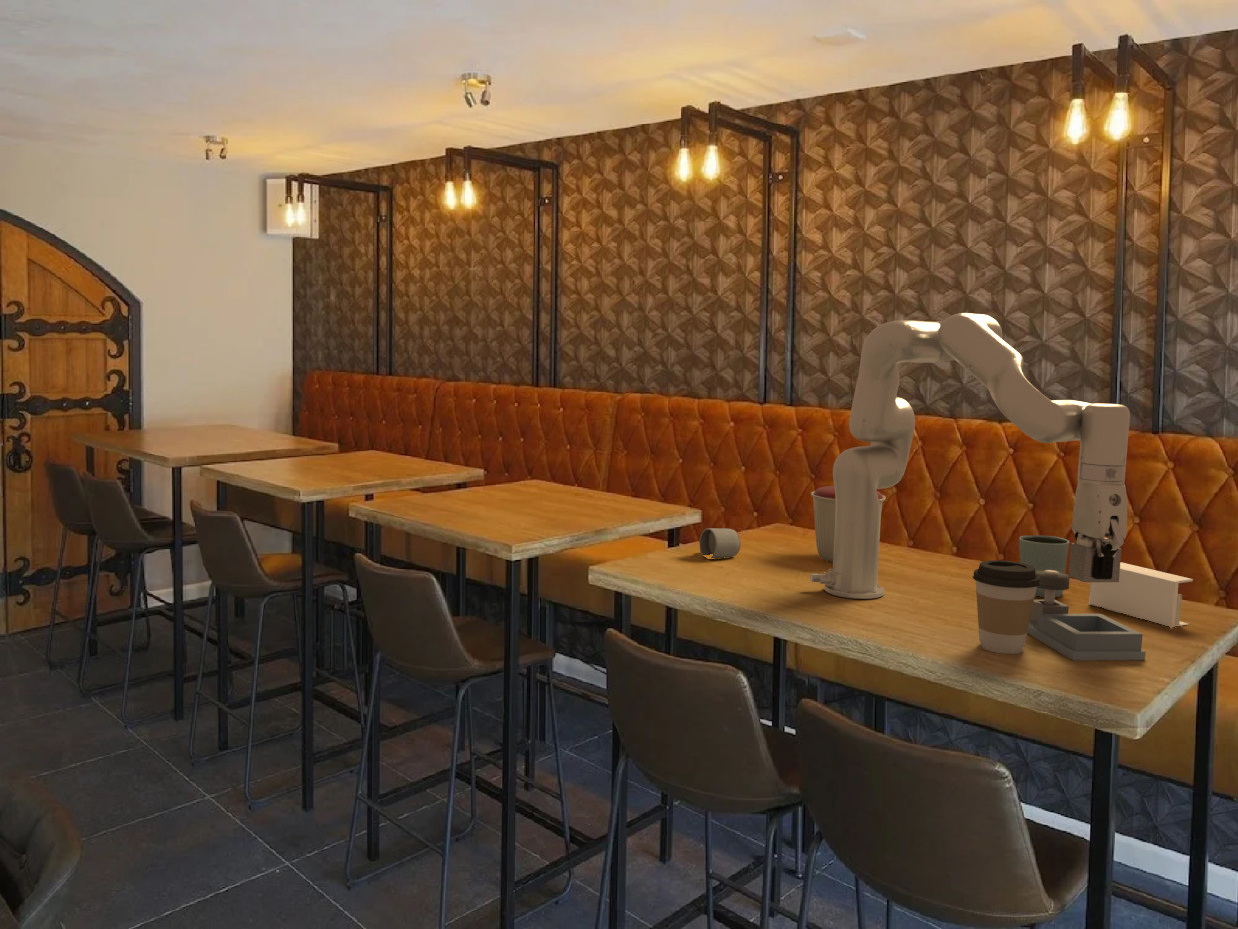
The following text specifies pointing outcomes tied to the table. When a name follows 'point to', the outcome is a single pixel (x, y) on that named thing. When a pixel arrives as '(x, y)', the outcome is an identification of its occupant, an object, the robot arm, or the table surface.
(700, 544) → the ceramic mug
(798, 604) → the table surface
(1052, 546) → the green tumbler
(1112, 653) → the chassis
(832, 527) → the canister
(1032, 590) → the coffee cup
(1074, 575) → the beige block
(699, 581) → the table surface
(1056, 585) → the round knob on base
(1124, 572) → the beige beam
